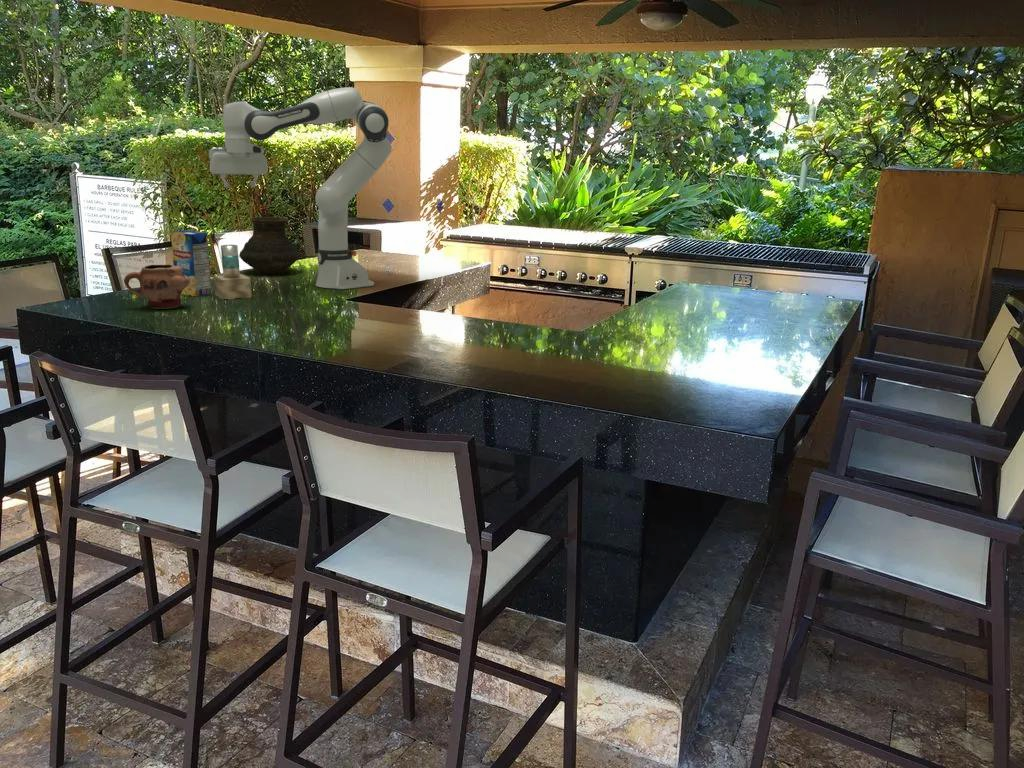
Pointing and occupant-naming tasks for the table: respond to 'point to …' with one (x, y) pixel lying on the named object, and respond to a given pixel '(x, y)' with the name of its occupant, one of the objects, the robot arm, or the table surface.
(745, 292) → the table surface
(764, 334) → the table surface
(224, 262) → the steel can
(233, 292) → the oak block
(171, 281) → the decorative planter
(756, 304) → the table surface
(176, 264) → the beverage box
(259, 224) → the ceramic pot
